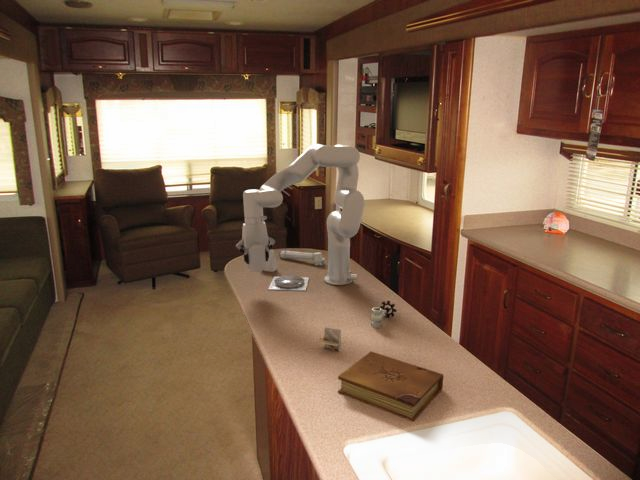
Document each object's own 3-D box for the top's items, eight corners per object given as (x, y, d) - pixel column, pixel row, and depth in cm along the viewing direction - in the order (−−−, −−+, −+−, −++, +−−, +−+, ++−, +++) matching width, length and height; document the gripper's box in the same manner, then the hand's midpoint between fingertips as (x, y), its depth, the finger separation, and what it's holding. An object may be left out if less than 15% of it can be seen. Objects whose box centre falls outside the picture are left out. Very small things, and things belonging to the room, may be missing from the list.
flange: (309, 278, 235) (309, 274, 235) (305, 290, 220) (305, 287, 219) (274, 277, 236) (274, 273, 236) (268, 289, 221) (268, 286, 221)
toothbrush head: (283, 249, 267) (325, 249, 254) (285, 261, 268) (327, 263, 255) (277, 251, 262) (320, 252, 250) (279, 264, 264) (321, 265, 251)
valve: (382, 330, 183) (396, 318, 193) (382, 313, 182) (397, 302, 191) (365, 326, 187) (380, 314, 196) (366, 309, 185) (381, 298, 195)
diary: (442, 391, 146) (443, 373, 145) (413, 423, 132) (414, 403, 130) (371, 366, 159) (372, 349, 158) (337, 393, 145) (338, 375, 143)
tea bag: (272, 271, 244) (272, 251, 241) (260, 270, 246) (259, 249, 244) (276, 269, 247) (276, 249, 244) (264, 267, 250) (263, 247, 247)
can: (269, 267, 217) (268, 240, 214) (260, 273, 211) (258, 245, 208) (254, 265, 221) (252, 238, 217) (244, 271, 214) (242, 243, 211)
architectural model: (337, 355, 166) (338, 334, 164) (317, 352, 168) (317, 330, 166) (341, 350, 169) (341, 329, 167) (321, 347, 171) (321, 326, 170)
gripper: (272, 216, 216) (274, 256, 221) (230, 220, 210) (234, 262, 215) (277, 219, 209) (279, 261, 214) (234, 224, 204) (237, 267, 209)
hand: (256, 261), depth 215 cm, fingers closed on can, 7 cm apart
